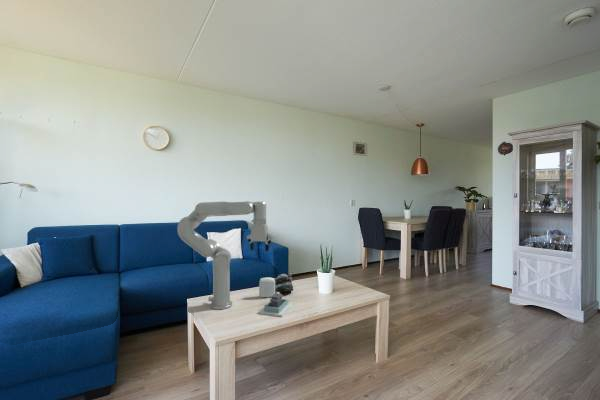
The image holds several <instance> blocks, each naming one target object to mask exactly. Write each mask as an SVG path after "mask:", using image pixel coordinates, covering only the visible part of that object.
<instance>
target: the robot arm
mask: <svg viewBox="0 0 600 400" xmlns="http://www.w3.org/2000/svg"><path fill="white" fill-rule="evenodd" d="M250 214H253V219H252V220H251V223H252V224H251V230H250V234H248V235H246V240H247V241H248V242H249V244H250V245H249V246H250V251H254V250H255V242H262V243H263V242H264V243H265V245H264V246H265V248H264V250H265V252H268V251H269V250H270V244H271V243H272V242H273V240H274V236H272V235H270V234H269V227H268V224H267V202H266V201H249V200H246V201H229V202H228V201H206V202H198V203H197V204H196V205H195V207H194V210H193V211H192V212H191V213H190V214H189V215H187V216H184V217H183V218H182V217H181V219H180V220H179V222H178V224H177V230H176V231H177V234H178V236H179V238H180V239H181V241H183V242H184V243H185V244H187V246H189V247H190V248H192V250H194V251H195V252H197V253H198V254H199V255H201V256H202V257H203V258H211V259H212V295H213V296H208V299H207V301H208V302H211V303H210V308H211V309H213V310H224V309H228V308H231V307H232V306H233V301H232V300H231V299H230V298H231V297H230V295H231V293H230V292H231V291H230V289H231V287H230V285H231V284H230V283H231V277H230V275H231V273H230V271H231V269H230V266H231V265H230V264H231V261H232V254H231V253H230V251H229V250H228V249H226V248H225V247H224V246H222V244H220V243H219V242H217V241H216V240H214V239H211V238H209V239H208V238H207V239H206V238H205V237H203V236H202V235H201V234H199V232H197V231H195V229H196V228H198V227H199V226H200V225H201V224H202V222H204V221H205V220H206V219H207V218H209V217H227V216H244V215H245V216H246V215H250Z"/></svg>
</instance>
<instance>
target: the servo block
mask: <svg viewBox="0 0 600 400" xmlns="http://www.w3.org/2000/svg"><path fill="white" fill-rule="evenodd" d="M283 297H284V295H283V294H282V293H279V292H276V293H275V294H274V295H273V296H271V297H270V300H269V302H270V301H271V307H276V308H278V307H279V306H281V305H282V299H283Z"/></svg>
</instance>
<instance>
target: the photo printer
mask: <svg viewBox="0 0 600 400" xmlns="http://www.w3.org/2000/svg"><path fill="white" fill-rule="evenodd" d="M259 279H260V280H259V284H258V291H259V292H258V297H259V298H271V296H273V295H274V294H275V279H274V278H273V277H270V276H269V277H261V278H259Z"/></svg>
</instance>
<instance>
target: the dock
mask: <svg viewBox="0 0 600 400" xmlns="http://www.w3.org/2000/svg"><path fill="white" fill-rule="evenodd" d="M293 306H294V302H293V303H292V302H289V299H287V298H282V305H281V306H279V307H278V308H276V307H271V301H270V300H269V302H268V303H267V304H265V305H264V306H263V308H261V309H260V310H258V314H259V315H260V314H261V315H266V316H273V317H281V318H283V316H285V314H287V312H288V311H289V310H290V309H291V308H293Z"/></svg>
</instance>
